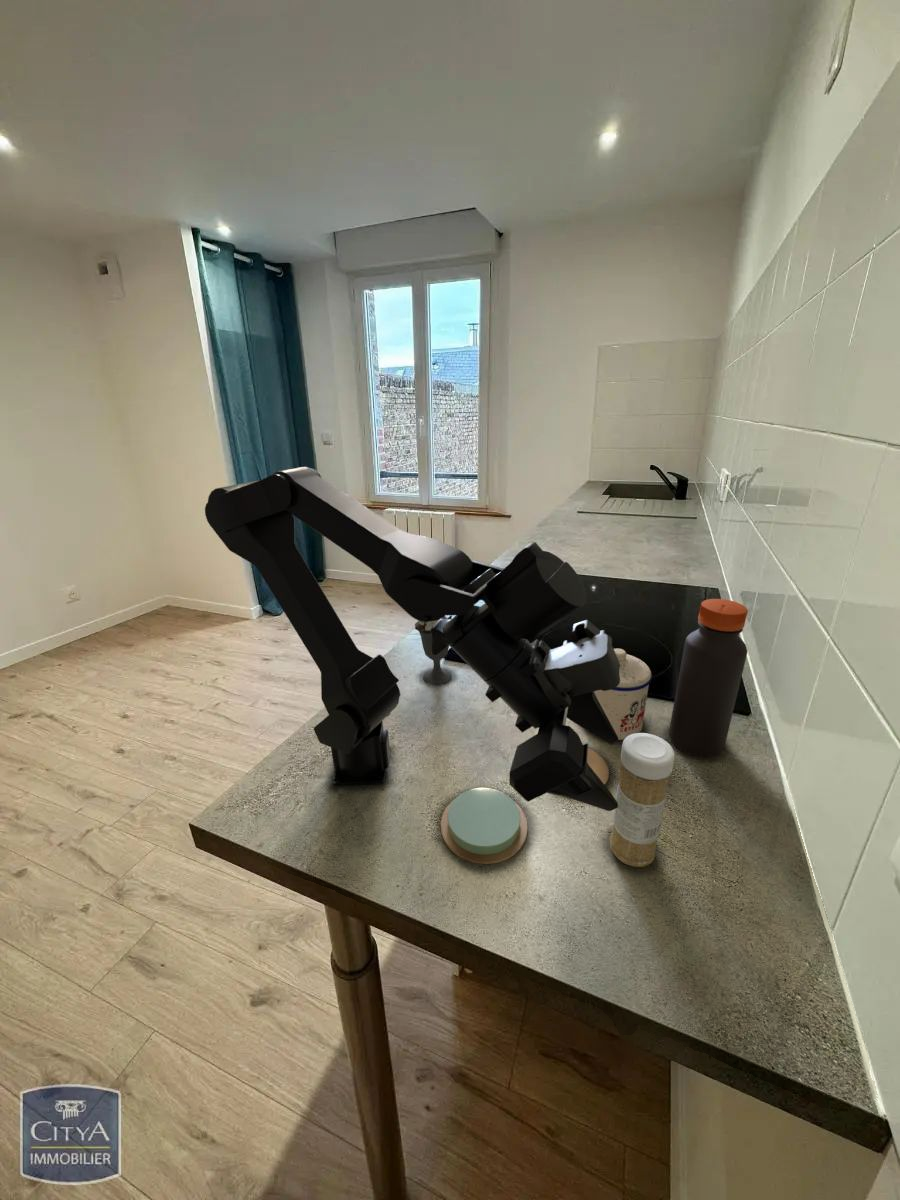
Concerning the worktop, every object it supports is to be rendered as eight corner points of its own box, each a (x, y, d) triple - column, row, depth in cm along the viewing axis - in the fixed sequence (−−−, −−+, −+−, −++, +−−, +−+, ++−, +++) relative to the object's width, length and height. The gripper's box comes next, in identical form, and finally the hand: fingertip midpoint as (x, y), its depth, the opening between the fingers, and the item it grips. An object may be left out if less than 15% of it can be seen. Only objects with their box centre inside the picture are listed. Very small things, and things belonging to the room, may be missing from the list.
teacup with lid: (630, 751, 62) (641, 676, 58) (567, 725, 68) (572, 654, 63) (658, 708, 71) (670, 639, 66) (600, 688, 76) (607, 623, 72)
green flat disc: (448, 856, 49) (448, 848, 48) (446, 796, 56) (446, 789, 55) (526, 852, 49) (526, 844, 48) (514, 793, 56) (514, 785, 56)
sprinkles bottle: (638, 827, 52) (655, 727, 46) (664, 864, 47) (686, 758, 42) (600, 836, 51) (613, 735, 45) (623, 874, 47) (641, 768, 41)
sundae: (413, 670, 83) (408, 591, 77) (450, 664, 85) (447, 586, 79) (423, 690, 77) (417, 607, 71) (461, 683, 79) (459, 600, 73)
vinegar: (729, 762, 60) (765, 620, 52) (671, 753, 62) (698, 615, 54) (717, 729, 66) (747, 597, 58) (665, 722, 68) (687, 593, 60)
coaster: (544, 797, 56) (544, 795, 56) (529, 746, 64) (529, 744, 64) (619, 793, 56) (619, 791, 56) (595, 743, 64) (595, 741, 64)
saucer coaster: (441, 866, 48) (441, 864, 48) (440, 793, 57) (440, 792, 57) (535, 861, 48) (535, 859, 48) (519, 790, 57) (519, 788, 57)
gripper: (556, 663, 33) (704, 816, 34) (577, 574, 49) (676, 680, 50) (453, 734, 38) (583, 865, 39) (502, 633, 55) (593, 727, 56)
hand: (614, 772), depth 46 cm, fingers open, 9 cm apart
